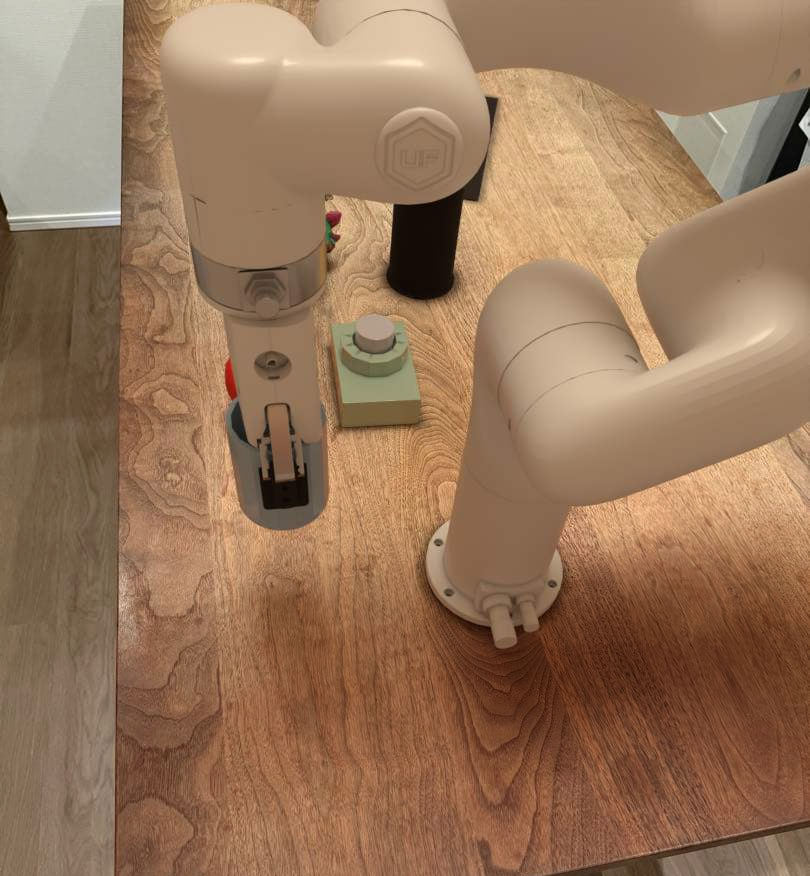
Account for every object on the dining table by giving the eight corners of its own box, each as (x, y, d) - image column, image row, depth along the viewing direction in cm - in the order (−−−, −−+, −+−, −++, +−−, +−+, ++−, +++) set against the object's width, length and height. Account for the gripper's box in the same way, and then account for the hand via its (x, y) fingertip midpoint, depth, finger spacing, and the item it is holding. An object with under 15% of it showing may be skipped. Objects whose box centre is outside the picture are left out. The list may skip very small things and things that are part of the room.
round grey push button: (395, 354, 90) (397, 338, 88) (357, 356, 89) (357, 340, 87) (390, 328, 92) (391, 313, 90) (352, 330, 91) (353, 314, 90)
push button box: (418, 423, 91) (423, 384, 87) (341, 427, 90) (342, 388, 86) (401, 346, 98) (405, 306, 94) (330, 348, 97) (331, 309, 93)
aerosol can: (447, 305, 103) (470, 142, 87) (379, 292, 103) (389, 128, 87) (459, 264, 108) (482, 102, 92) (394, 251, 108) (406, 89, 92)
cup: (334, 525, 65) (331, 448, 58) (242, 536, 64) (228, 459, 57) (322, 457, 69) (319, 377, 62) (236, 466, 68) (222, 386, 61)
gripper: (347, 355, 45) (348, 554, 59) (309, 167, 55) (318, 377, 69) (199, 367, 44) (237, 568, 58) (187, 174, 54) (222, 386, 68)
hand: (281, 463), depth 64 cm, fingers closed on cup, 6 cm apart
